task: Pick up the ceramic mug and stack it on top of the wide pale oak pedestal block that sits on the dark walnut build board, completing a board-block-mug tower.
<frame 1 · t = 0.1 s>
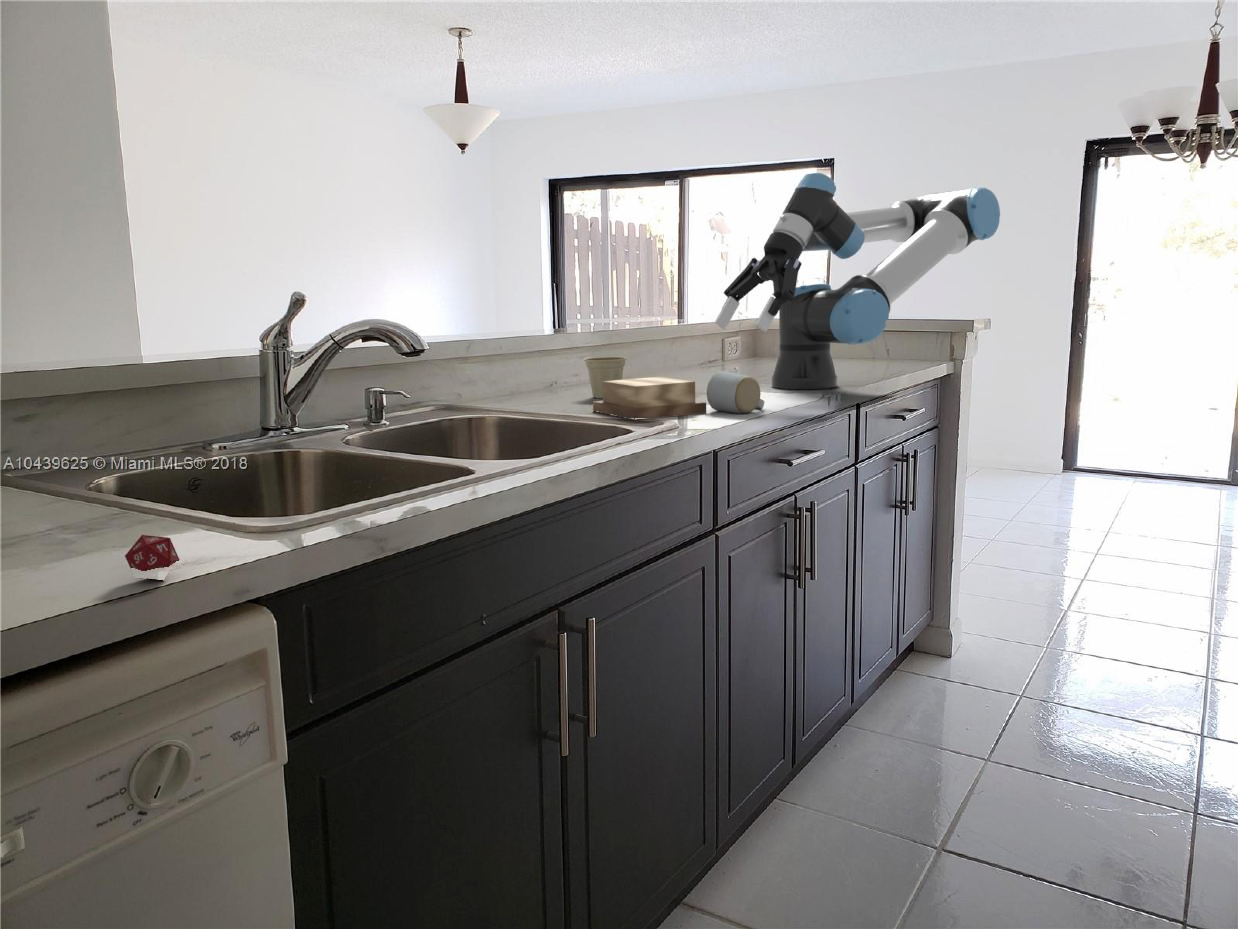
hand: (739, 327, 192), 15 cm above the countertop, tool tilted 35°, fingers open, 13 cm apart
flower pot: (606, 398, 209), on the countertop
ceramic mug: (738, 412, 181), on the countertop
build board: (648, 412, 182), on the countertop
pedestal block: (648, 401, 182), point 2 cm above the countertop, touching build board
dice: (155, 582, 82), on the countertop
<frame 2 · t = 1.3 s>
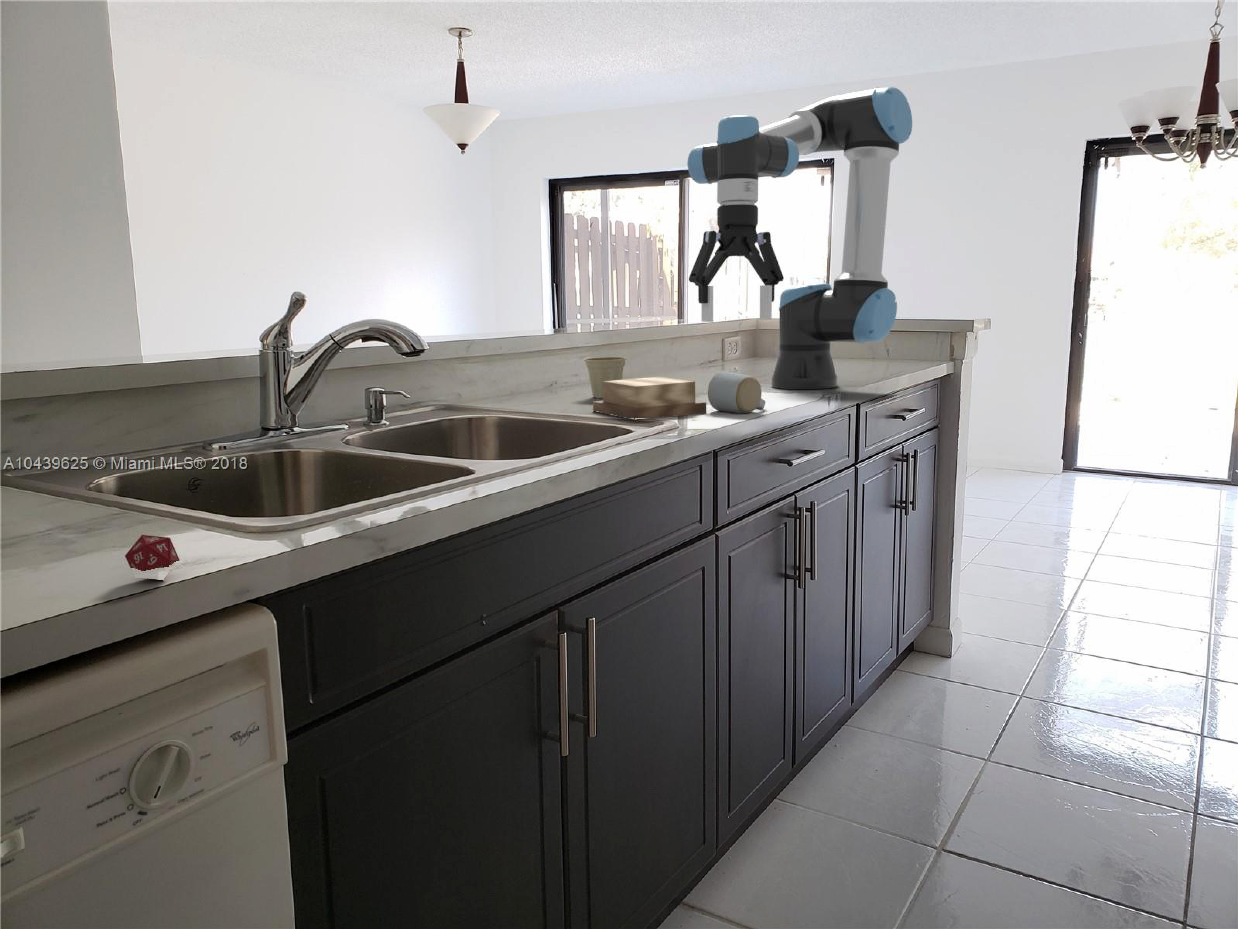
hand: (736, 320, 178), 17 cm above the countertop, tool pointing down, fingers open, 13 cm apart
nothing on the countertop moved.
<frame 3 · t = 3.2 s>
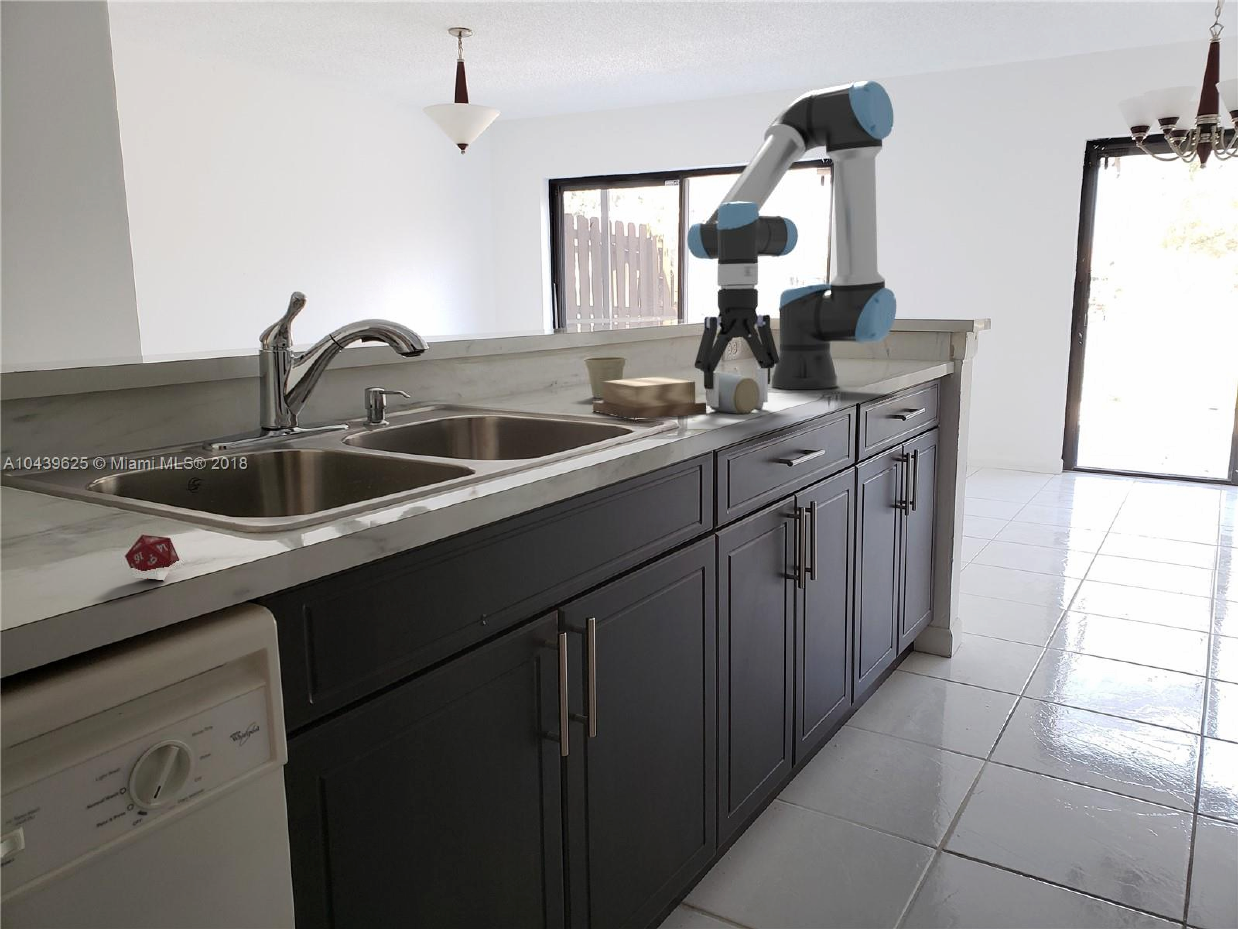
hand: (737, 403, 180), 1 cm above the countertop, tool pointing down, fingers open, 11 cm apart
ceramic mug: (737, 413, 181), on the countertop, touching gripper
everything else where it was.
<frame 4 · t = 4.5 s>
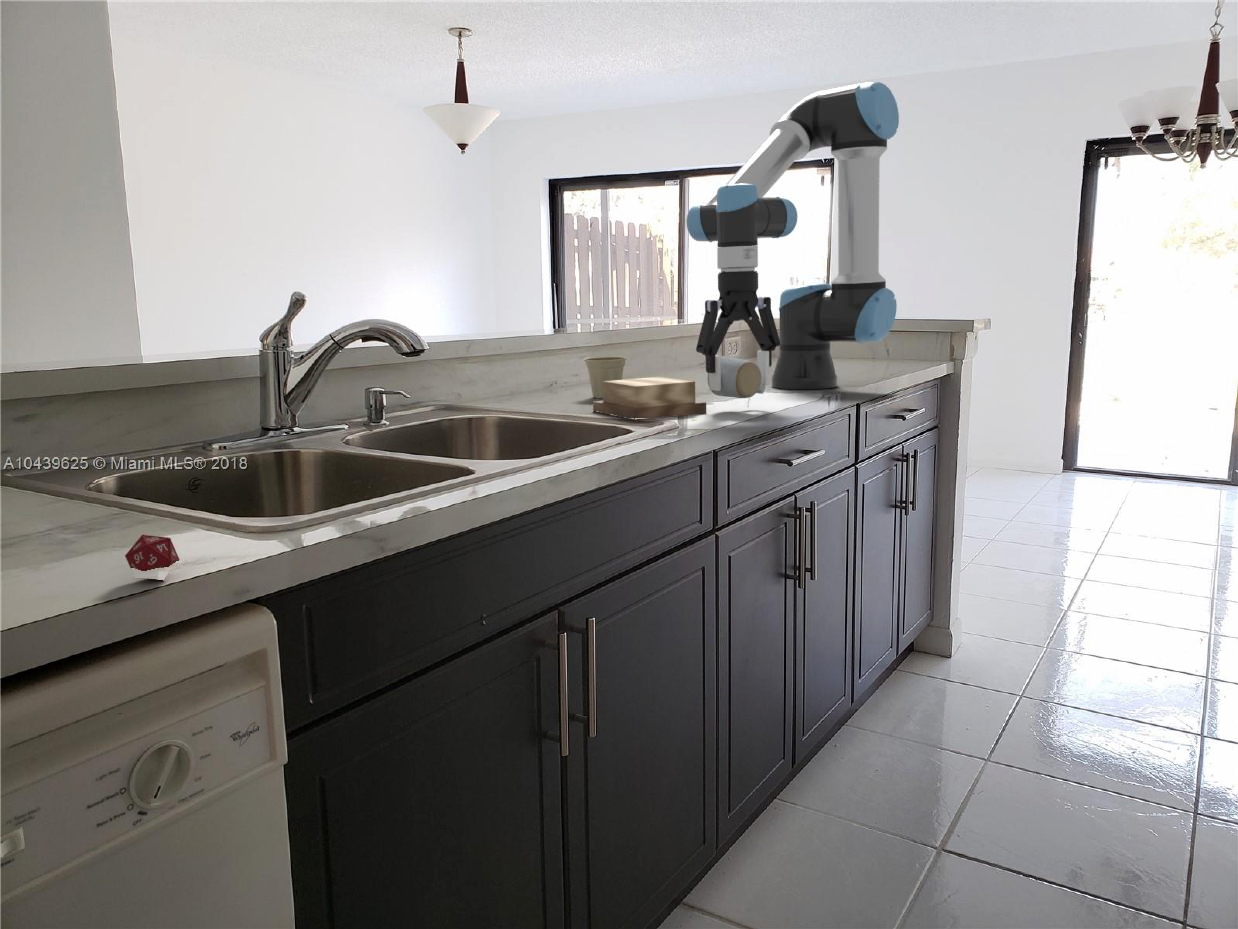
hand: (739, 387, 180), 5 cm above the countertop, tool pointing down, fingers closed on ceramic mug, 11 cm apart
ceramic mug: (739, 397, 181), point 3 cm above the countertop, touching gripper
everything else where it was.
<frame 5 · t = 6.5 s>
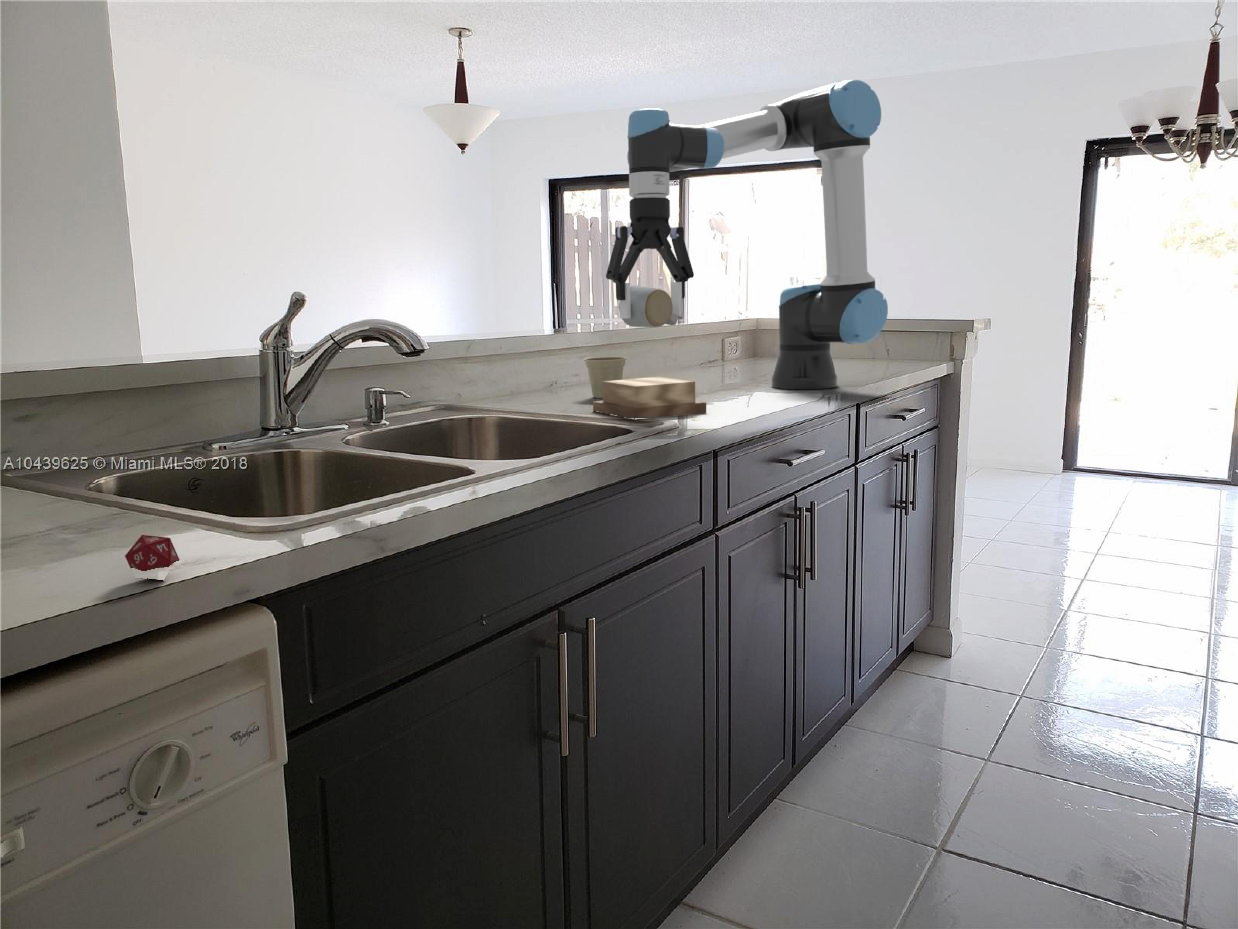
hand: (651, 317, 179), 18 cm above the countertop, tool pointing down, fingers closed on ceramic mug, 11 cm apart
ceramic mug: (651, 327, 179), point 16 cm above the countertop, touching gripper
everything else where it was.
when the fingers open (8 cm above the countertop, at t = 8.9 s): ceramic mug stays where it is, resting on pedestal block.
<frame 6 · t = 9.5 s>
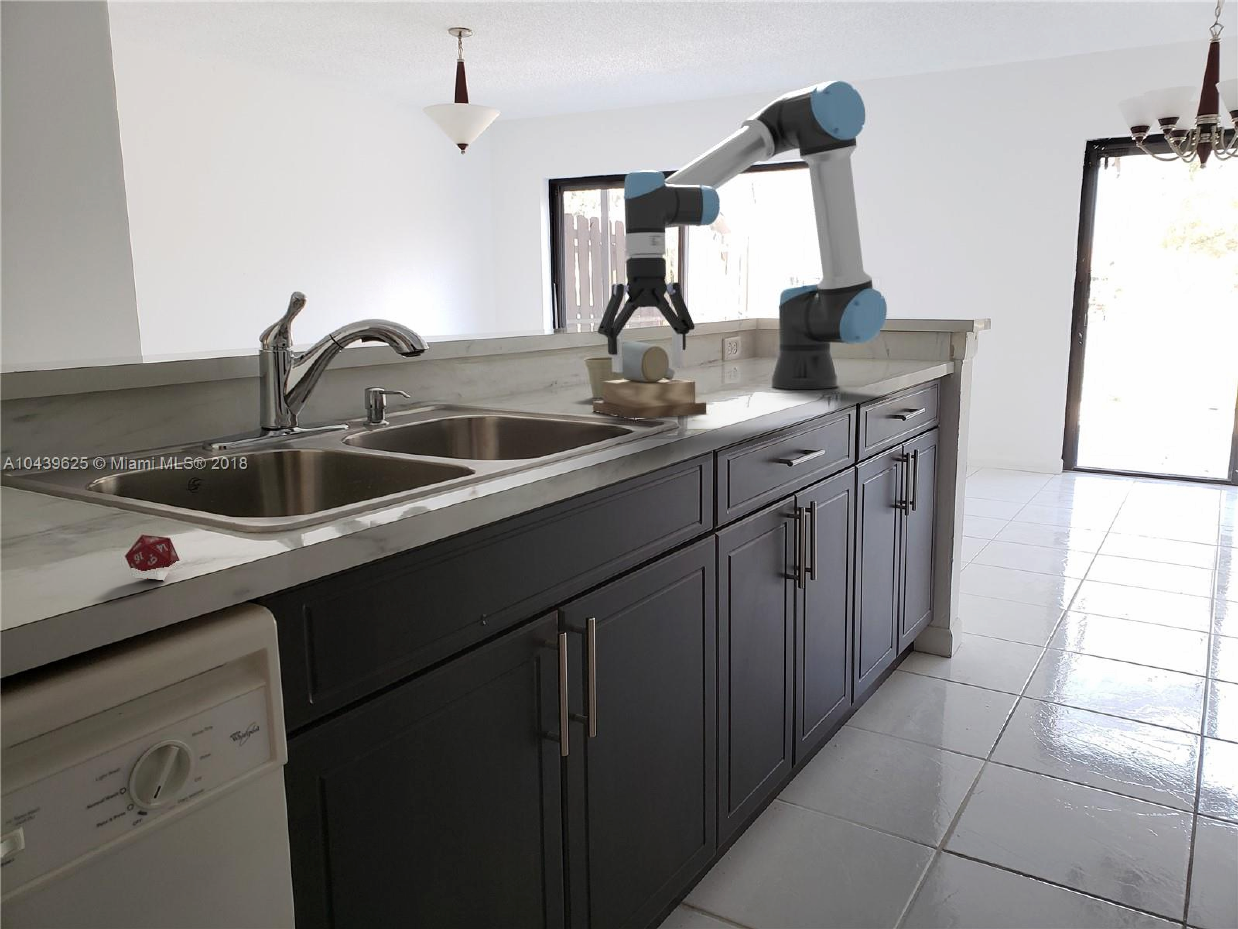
hand: (648, 369, 181), 8 cm above the countertop, tool pointing down, fingers open, 13 cm apart
ceramic mug: (648, 382, 181), point 6 cm above the countertop, touching pedestal block
pedestal block: (648, 401, 182), point 2 cm above the countertop, touching build board, ceramic mug
everything else where it was.
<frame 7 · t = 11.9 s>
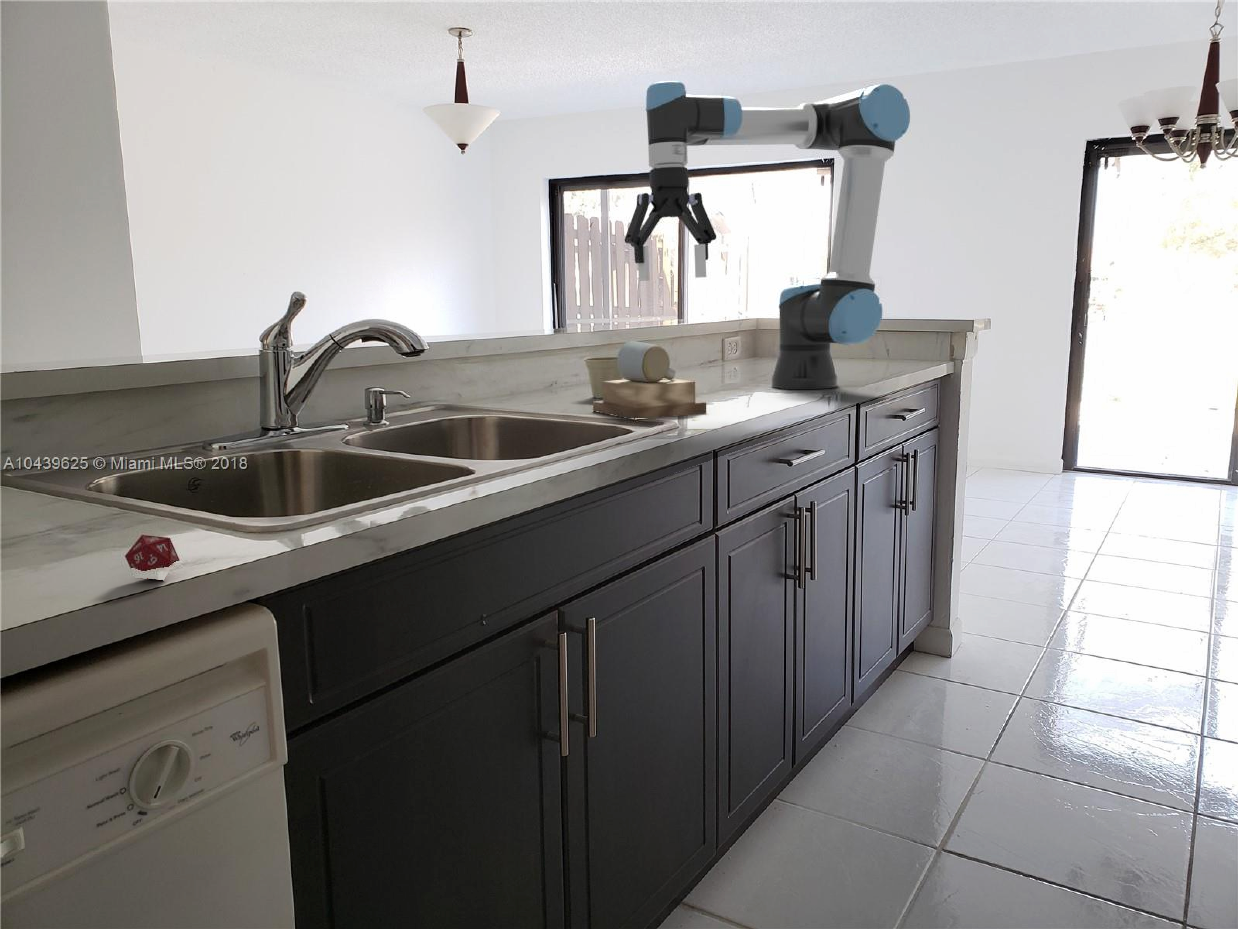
hand: (673, 279, 186), 25 cm above the countertop, tool pointing down, fingers open, 13 cm apart
nothing on the countertop moved.
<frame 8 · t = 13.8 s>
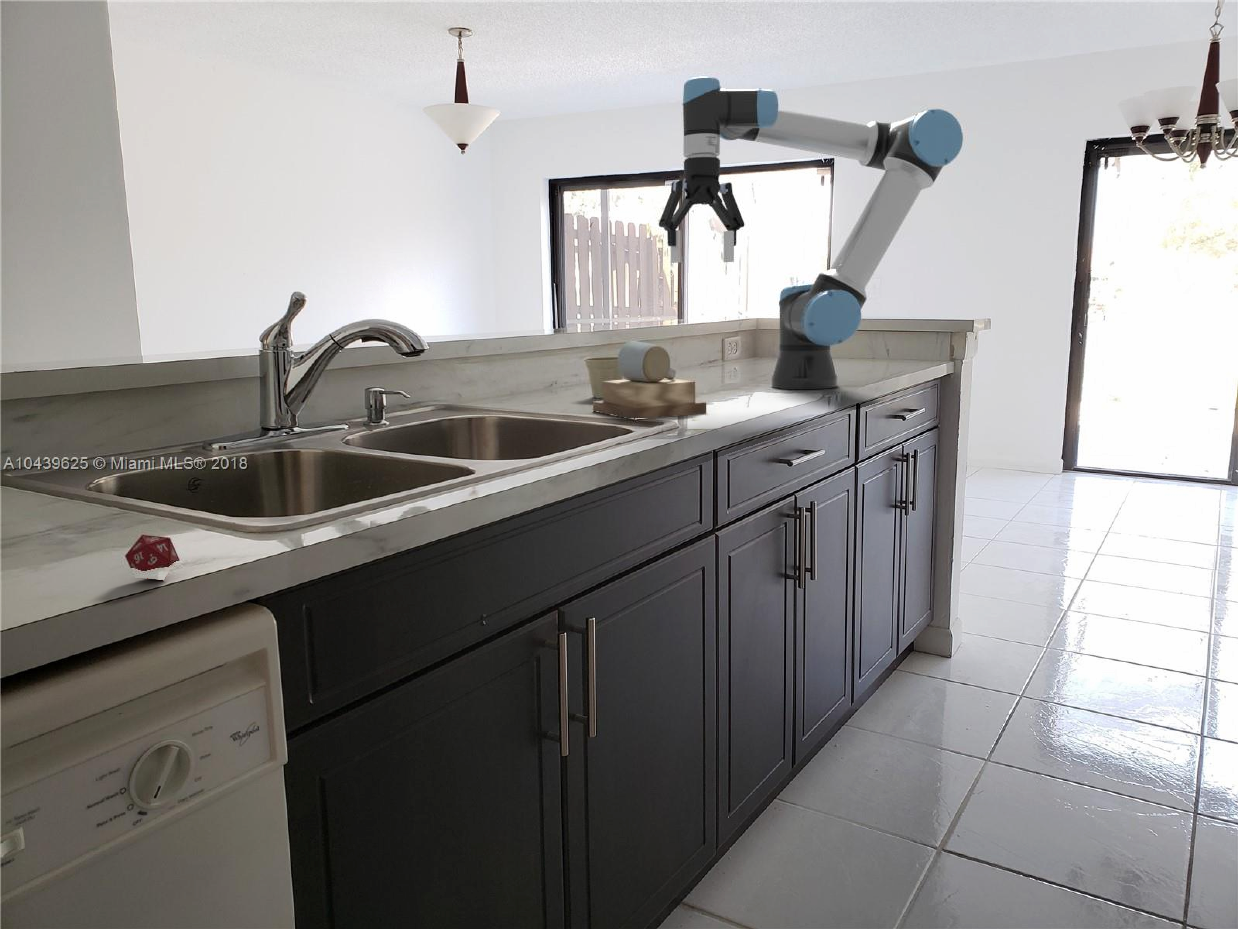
hand: (702, 262, 199), 29 cm above the countertop, tool pointing down, fingers open, 13 cm apart
nothing on the countertop moved.
at the end: ceramic mug inside the target area on the pedestal block (0.4 cm from its centre), point 3.8 cm above the pedestal block's base; ceramic mug touching pedestal block; the gripper is holding nothing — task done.
